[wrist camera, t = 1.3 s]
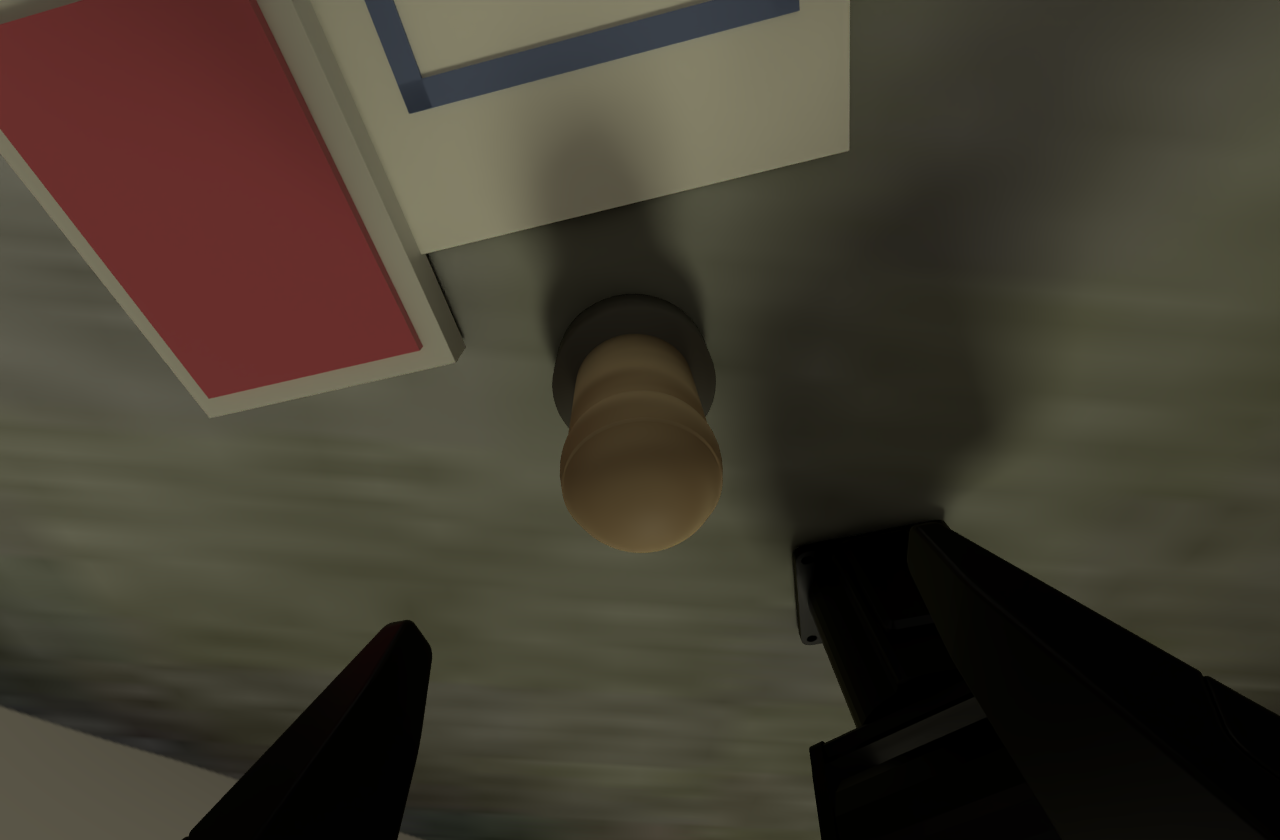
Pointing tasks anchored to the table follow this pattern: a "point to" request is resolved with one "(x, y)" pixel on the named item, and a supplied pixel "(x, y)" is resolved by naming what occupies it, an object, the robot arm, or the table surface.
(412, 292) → the ink pad
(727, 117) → the paper
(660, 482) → the stamp
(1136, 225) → the table surface
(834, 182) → the table surface
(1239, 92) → the table surface
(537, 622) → the table surface
